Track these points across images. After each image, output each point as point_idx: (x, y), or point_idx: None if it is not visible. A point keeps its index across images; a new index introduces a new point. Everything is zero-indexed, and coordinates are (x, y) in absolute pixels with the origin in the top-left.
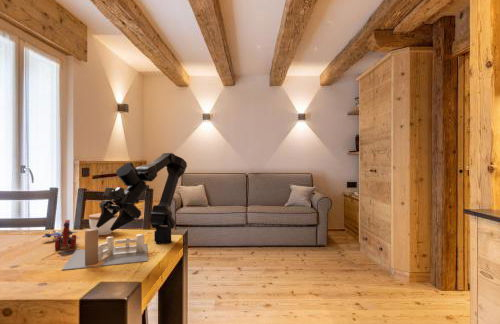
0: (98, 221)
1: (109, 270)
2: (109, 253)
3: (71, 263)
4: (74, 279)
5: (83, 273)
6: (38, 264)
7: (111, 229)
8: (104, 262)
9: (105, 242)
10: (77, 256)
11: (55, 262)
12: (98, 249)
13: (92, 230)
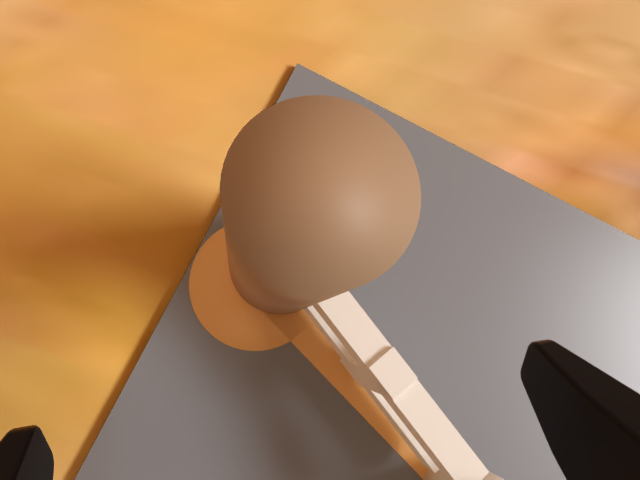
0: (610, 395)
1: (5, 313)
2: (431, 474)
3: None
4: (17, 58)
5: (102, 145)
6: (557, 12)
7: (13, 447)
8: (230, 353)
9: (474, 460)
10: (564, 251)
11: (531, 100)
12: (336, 333)
13: (290, 193)
